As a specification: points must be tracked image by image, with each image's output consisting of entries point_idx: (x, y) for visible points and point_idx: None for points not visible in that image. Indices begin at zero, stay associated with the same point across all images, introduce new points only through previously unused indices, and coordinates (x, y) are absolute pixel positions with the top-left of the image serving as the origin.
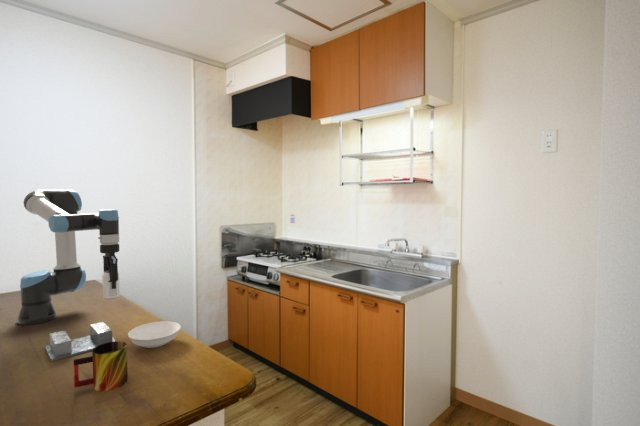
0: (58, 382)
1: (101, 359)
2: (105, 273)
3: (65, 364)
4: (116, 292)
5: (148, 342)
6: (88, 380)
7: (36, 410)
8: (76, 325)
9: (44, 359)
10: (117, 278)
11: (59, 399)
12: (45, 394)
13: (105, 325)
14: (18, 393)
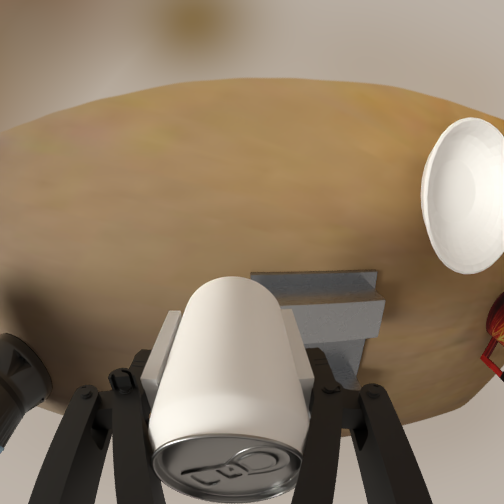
0: (440, 376)
1: None
2: (264, 491)
3: (387, 374)
4: (295, 322)
5: (500, 236)
6: (495, 346)
7: (474, 386)
8: (102, 323)
9: None
10: (387, 400)
11: (478, 369)
12: (454, 385)
13: (315, 308)
14: (421, 412)
